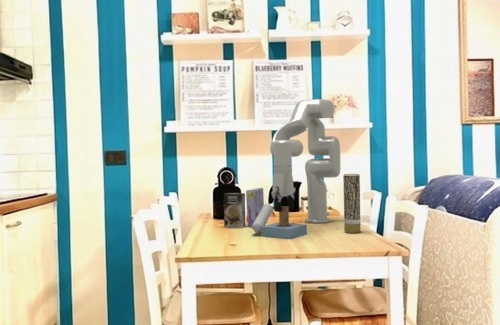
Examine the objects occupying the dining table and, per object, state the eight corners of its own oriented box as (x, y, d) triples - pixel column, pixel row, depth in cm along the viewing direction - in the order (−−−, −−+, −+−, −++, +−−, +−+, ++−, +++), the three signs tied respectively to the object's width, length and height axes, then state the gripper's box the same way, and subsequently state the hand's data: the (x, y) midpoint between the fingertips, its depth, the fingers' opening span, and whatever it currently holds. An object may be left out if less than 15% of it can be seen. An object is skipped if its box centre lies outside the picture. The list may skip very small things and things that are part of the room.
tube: (265, 226, 192) (275, 207, 215) (253, 220, 192) (265, 201, 216) (259, 236, 193) (269, 216, 217) (248, 230, 194) (260, 210, 217)
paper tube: (347, 230, 202) (346, 173, 202) (362, 231, 199) (361, 173, 199) (342, 233, 197) (341, 174, 196) (357, 234, 193) (356, 174, 193)
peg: (282, 233, 198) (282, 206, 197) (290, 234, 195) (290, 206, 195) (277, 235, 194) (277, 206, 194) (285, 236, 192) (285, 207, 192)
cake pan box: (256, 221, 237) (255, 187, 236) (265, 221, 235) (265, 187, 235) (246, 227, 218) (245, 190, 218) (256, 227, 217) (255, 190, 216)
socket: (279, 231, 204) (279, 222, 204) (306, 233, 196) (306, 224, 196) (261, 236, 193) (260, 226, 193) (289, 239, 185) (289, 229, 185)
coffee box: (223, 227, 217) (223, 193, 217) (227, 225, 224) (226, 192, 223) (242, 228, 215) (241, 193, 215) (245, 226, 221) (245, 192, 221)
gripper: (286, 168, 204) (287, 206, 204) (264, 171, 190) (265, 212, 191) (301, 168, 199) (302, 207, 200) (279, 171, 185) (281, 213, 186)
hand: (284, 209), depth 195 cm, fingers open, 9 cm apart
